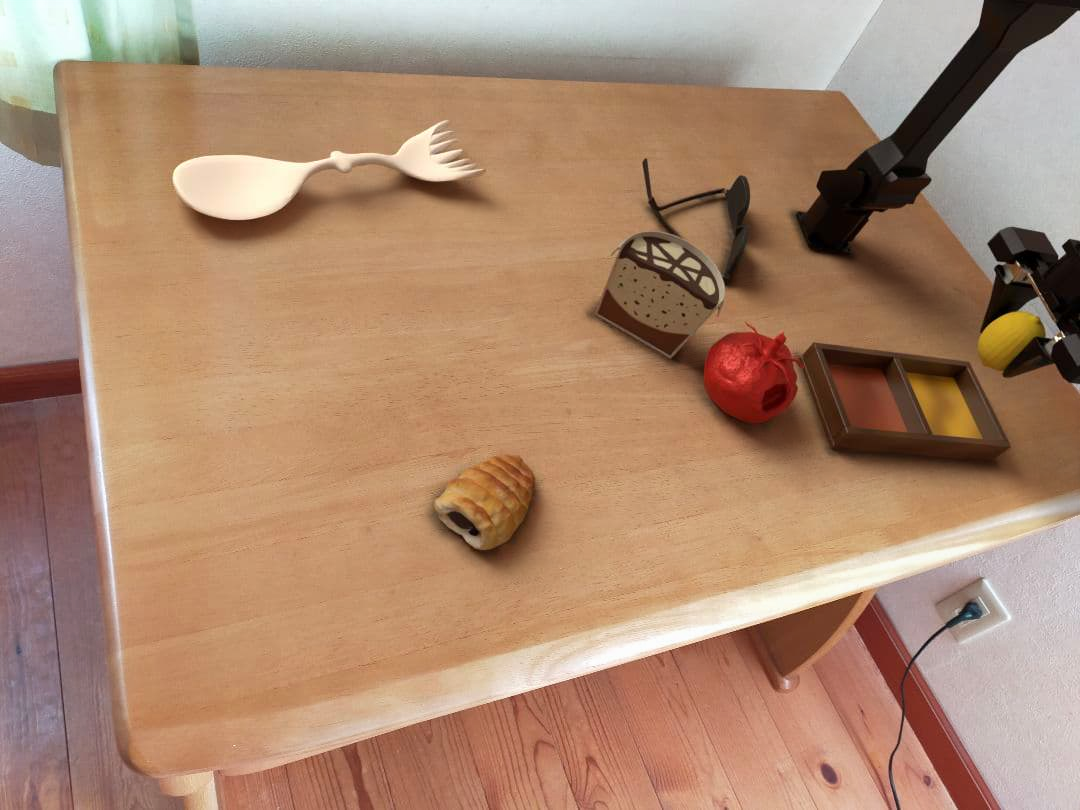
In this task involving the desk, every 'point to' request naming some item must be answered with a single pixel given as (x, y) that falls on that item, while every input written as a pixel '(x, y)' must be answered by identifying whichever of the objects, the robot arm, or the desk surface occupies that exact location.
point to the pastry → (488, 501)
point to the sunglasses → (736, 207)
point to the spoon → (304, 175)
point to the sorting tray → (901, 403)
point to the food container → (661, 290)
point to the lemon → (1008, 338)
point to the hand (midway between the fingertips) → (994, 355)
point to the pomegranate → (751, 375)
